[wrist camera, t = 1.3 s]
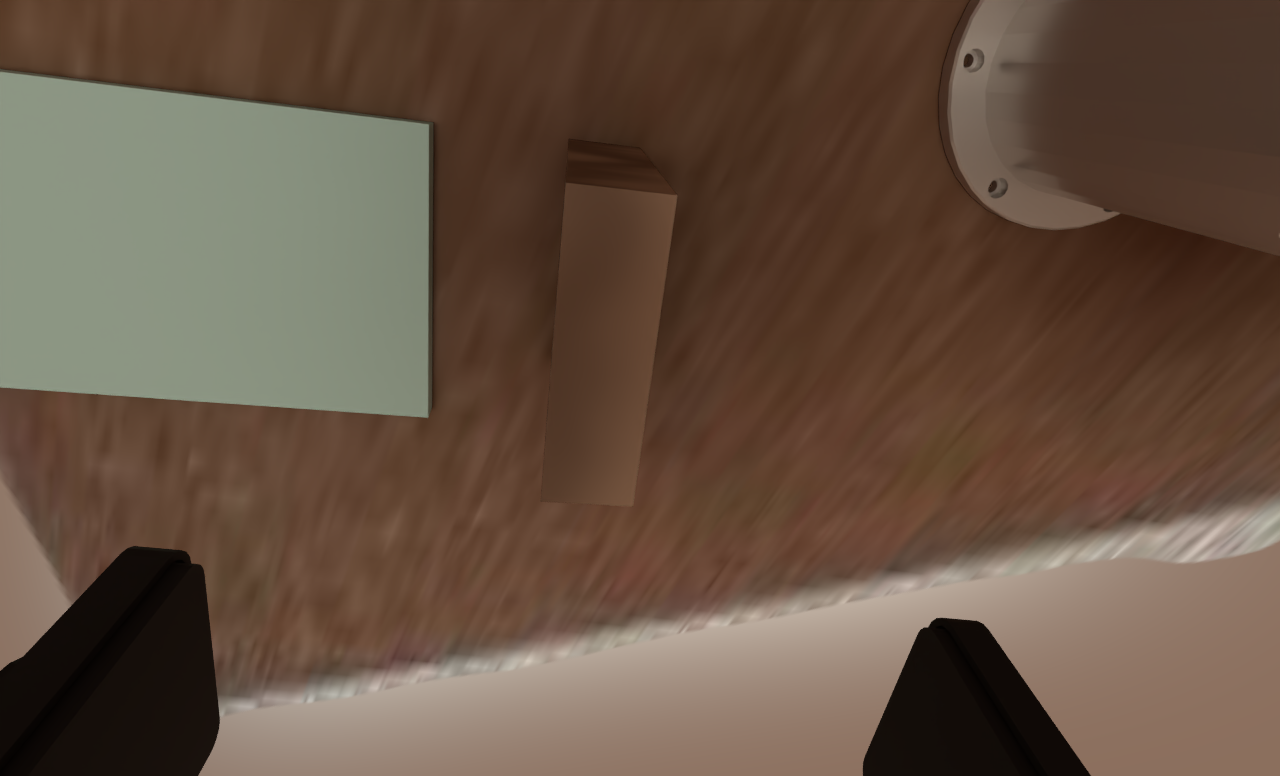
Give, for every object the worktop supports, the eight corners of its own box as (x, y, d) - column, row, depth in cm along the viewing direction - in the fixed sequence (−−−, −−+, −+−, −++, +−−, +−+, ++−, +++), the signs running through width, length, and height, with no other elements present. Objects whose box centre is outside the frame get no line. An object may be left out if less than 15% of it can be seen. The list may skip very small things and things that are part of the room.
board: (639, 147, 30) (677, 195, 19) (613, 364, 34) (632, 506, 23) (568, 139, 29) (565, 182, 19) (551, 359, 34) (540, 501, 23)
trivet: (433, 122, 29) (429, 124, 28) (431, 408, 34) (428, 417, 33) (-120, 54, 26) (-145, 54, 25) (-29, 374, 31) (-47, 384, 31)
